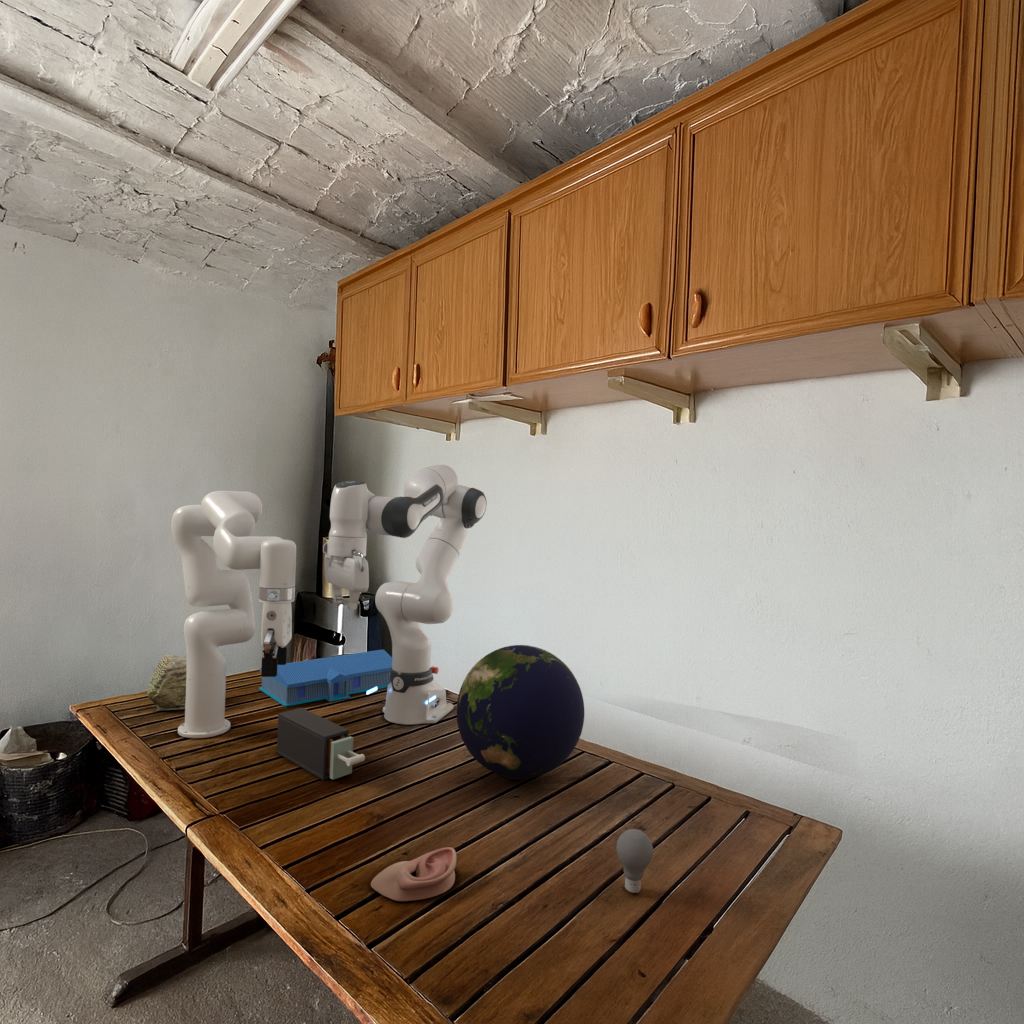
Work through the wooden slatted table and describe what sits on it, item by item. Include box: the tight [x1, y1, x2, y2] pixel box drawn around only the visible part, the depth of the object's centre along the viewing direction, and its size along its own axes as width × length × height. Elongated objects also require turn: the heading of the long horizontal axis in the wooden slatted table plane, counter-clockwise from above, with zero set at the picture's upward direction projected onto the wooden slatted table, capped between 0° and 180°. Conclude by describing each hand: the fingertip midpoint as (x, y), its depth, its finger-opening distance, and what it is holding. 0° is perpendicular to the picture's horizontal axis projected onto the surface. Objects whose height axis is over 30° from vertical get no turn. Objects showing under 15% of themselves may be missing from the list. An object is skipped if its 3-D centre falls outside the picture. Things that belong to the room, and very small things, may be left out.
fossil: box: [147, 654, 187, 712], centre depth 185 cm, size 9×18×15 cm, turn 132°
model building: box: [258, 649, 392, 707], centre depth 208 cm, size 39×24×10 cm, turn 132°
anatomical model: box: [370, 846, 458, 902], centre depth 106 cm, size 13×4×12 cm
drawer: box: [326, 735, 366, 781], centre depth 146 cm, size 25×5×8 cm, turn 49°
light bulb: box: [615, 828, 654, 894], centre depth 106 cm, size 6×6×10 cm
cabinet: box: [276, 707, 350, 781], centre depth 150 cm, size 21×6×10 cm, turn 49°
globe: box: [456, 644, 585, 780], centre depth 149 cm, size 30×30×30 cm
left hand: (274, 670), depth 143 cm, fingers open, 9 cm apart
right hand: (344, 606), depth 151 cm, fingers open, 8 cm apart
